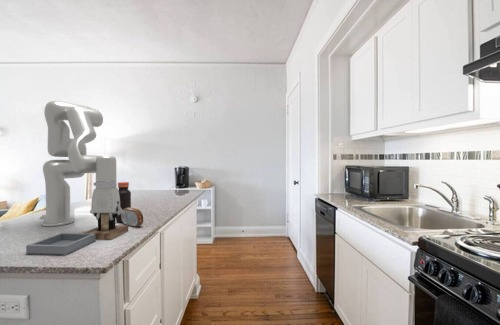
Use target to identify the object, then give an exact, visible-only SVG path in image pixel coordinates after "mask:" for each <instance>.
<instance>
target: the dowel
mask: <svg viewBox="0 0 500 325" xmlns="http://www.w3.org/2000/svg"><path fill="white" fill-rule="evenodd" d="M109 220H110V216H109V213H102V214H101V231H110V230H109ZM111 230H112V229H111Z"/></svg>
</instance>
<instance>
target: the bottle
mask: <svg viewBox="0 0 500 325" xmlns="http://www.w3.org/2000/svg"><path fill="white" fill-rule="evenodd" d="M129 187H130V184H129V182H128V181H121V182H117V188H118V191H119V196H120V207H121V209H124V208H127V207H130V208H132V192H131V190H130V189H129ZM117 212H118V211H116V213H117ZM115 223H117V224H124V223H123V222H122V220H121V214H120V215H119V216H118V217H117V218H116V219H115Z"/></svg>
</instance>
